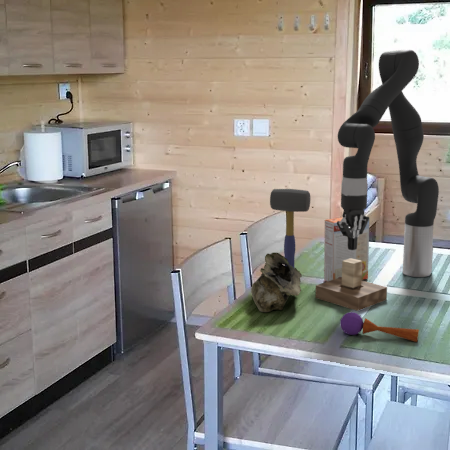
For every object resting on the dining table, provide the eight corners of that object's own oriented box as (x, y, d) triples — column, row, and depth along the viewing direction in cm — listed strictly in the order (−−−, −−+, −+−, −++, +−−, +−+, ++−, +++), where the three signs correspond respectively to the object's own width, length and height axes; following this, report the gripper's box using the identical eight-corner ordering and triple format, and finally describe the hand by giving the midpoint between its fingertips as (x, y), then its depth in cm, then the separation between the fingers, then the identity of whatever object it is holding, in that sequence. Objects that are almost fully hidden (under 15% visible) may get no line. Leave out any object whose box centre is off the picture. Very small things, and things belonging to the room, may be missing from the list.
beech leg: (349, 295, 215) (350, 258, 213) (361, 299, 212) (362, 260, 209) (340, 299, 212) (342, 260, 210) (352, 302, 209) (353, 263, 207)
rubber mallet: (268, 278, 233) (268, 189, 226) (274, 272, 240) (275, 186, 233) (304, 282, 229) (306, 191, 222) (310, 275, 236) (311, 188, 229)
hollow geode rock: (282, 299, 227) (251, 265, 227) (311, 275, 222) (279, 240, 223) (263, 328, 200) (228, 289, 201) (296, 301, 196) (260, 261, 197)
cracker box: (357, 274, 236) (359, 214, 232) (368, 279, 231) (370, 217, 226) (322, 280, 231) (324, 218, 226) (333, 285, 225) (334, 222, 221)
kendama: (418, 332, 176) (339, 317, 182) (415, 352, 178) (337, 336, 184) (420, 320, 181) (343, 306, 187) (417, 339, 183) (342, 325, 189)
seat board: (344, 288, 223) (344, 275, 222) (386, 299, 211) (387, 287, 210) (315, 297, 213) (315, 285, 213) (357, 310, 202) (358, 297, 201)
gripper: (357, 188, 212) (355, 243, 216) (329, 193, 203) (328, 251, 207) (378, 191, 207) (375, 247, 210) (350, 196, 198) (348, 255, 202)
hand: (352, 249), depth 209 cm, fingers closed
